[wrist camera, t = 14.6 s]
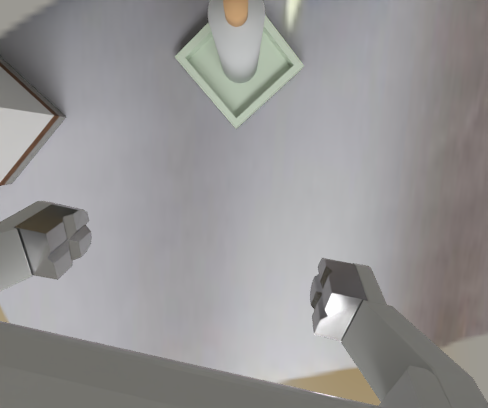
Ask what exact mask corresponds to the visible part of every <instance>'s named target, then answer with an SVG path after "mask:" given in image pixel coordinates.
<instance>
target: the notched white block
mask: <svg viewBox="0 0 488 408" xmlns="http://www.w3.org/2000/svg"><path fill="white" fill-rule="evenodd" d="M65 118H66V117H65V116H64V115H63V114H62V113H61V112H60V111H59V110H58V109H56V108H55V107H54V106H53V105H52V104H51V103H50V102H49V101H48V100H47V99H46V98H44V97H43V96H42V95H41V94H40V93H39V92H38V91H37V90H36V89H35V88H34V87H32V86H31V85H30V84H29V83H28V82H27V81H26V80H25V79H24V78H23V77H22V76H21V75H19V74H18V73H17V72H16V71H15V70H14V69H13V68H12V67H11V66H10V65H9V64H7V63H6V62H5V61H4V60H3V59H2V58H1V57H0V186H1V185H7V184H12V183H13V182H14V180H15V179H16V178H17V177H18V176H19V174H20V173H21V172H22V171H23V169H24V168H25V167H26V166H27V165H28V163H29V162H30V161H31V160H32V158H33V157H34V156H35V155H36V154H37V152H38V151H39V150H40V149H41V147H42V146H43V145H44V144H45V143H46V141H47V140H48V139H49V138H50V136H51V135H52V134H53V133H54V131H55V130H56V129H57V128H58V127H59V125H60V124H61V123H62V122H63V120H64V119H65Z"/></svg>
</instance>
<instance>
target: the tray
mask: <svg viewBox="0 0 488 408" xmlns="http://www.w3.org/2000/svg"><path fill="white" fill-rule="evenodd" d="M175 58H176V59H177V60H178V62H179V63H180V64H181V65H182V66H183V68H184V69H185V70H186V71H187V72H188V73H189V75H190V76H191V77H192V78H193V79H194V80H195V82H196V83H197V84H198V85H199V86H200V88H201V89H202V90H203V91H204V92H205V93H206V95H207V96H208V97H209V98H210V99H211V100H212V102H213V103H214V104H215V105H216V106H217V107H218V109H219V110H220V111H221V112H222V113H223V115H224V116H225V117H226V118H227V119H228V120H229V122H230V123H231V124H232V125H233V126H234V127H235V129H237V128H238V127H239V126H241V125H242V124H243V123H244V122H245V121H246V120H247V119H248V118H249V117H250V116H251V115H253V114H254V113H255V112H256V111H257V110H258V109H259V108H260V107H261V106H262V105H264V104H265V103H266V102H267V101H268V100H269V99H270V98H271V97H272V96H273V95H274V94H276V93H277V92H278V91H279V90H280V89H281V88H282V87H283V86H284V85H285V84H286V83H288V82H289V81H290V80H291V79H292V78H293V77H294V76H295V75H296V74H297V73H299V72H300V71H301V70H302V68H303V67H304V65H303V64H302V62H301V61H300V60H299V58H298V57H297V56H296V54H295V53H294V52H293V50H292V49H291V48H290V47H289V45H288V44H287V43H286V41H285V40H284V39H283V37H282V36H281V35H280V33H279V32H278V31H277V30H276V28H275V27H274V26H273V24H272V23H271V22H270V20H269V19H268V18H267V16H266V15H265V21H264V27H263V33H262V40H261V46H260V53H259V59H258V66H257V71H256V73H255V75H254V76H253V77H252V79H250V80H249V81H247V82H245V83H235V82H232V81H231V80H229V79H228V78H227V77H226V75H225V73H224V71H223V68H222V65H221V61H220V58H219V55H218V51H217V48H216V45H215V41H214V38H213V35H212V31H211V28H210V25H209V22H208V23H207V24H206V25H205V26H204V27H203V28H202V29H201V30H200V31H199V32H198V34H197V35H196V36H195V37H194V38H193V39H192V40H191V41H190V42H189V43H188V44H187V45H186V46H185V47H184V48H183V49H182V50H181V51H180V52H179V53H178V54H177V55H176V56H175Z"/></svg>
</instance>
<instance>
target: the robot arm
mask: <svg viewBox="0 0 488 408" xmlns="http://www.w3.org/2000/svg"><path fill="white" fill-rule="evenodd" d="M88 222H89V218H88V213H87V212H86V211H85V210H83V209H79V208H74V207H70V206H65V205H61V204H55V203H51V202H46V201H37V202H35V203H33V204H32V205H30V206H28V207H26V208H24V209H23V210H21V211H19V212H17V213H16V214H14V215H12V216H10V217H8V218H7V219H5V220H3V221H1V222H0V291H2V290H4V289H7V288H9V287H11V286H13V285H15V284H17V283H19V282H21V281H23V280H25V279H28V278H30V277H32V275H35V276H41V277H46V278H52V279H57V280H58V279H59V278H60V277H61V276H62V275H63V274H64V273H65V272H66V271H67V270H68V269H70V268H71V267H72V263H73V260H75V259H78V258H80V257H82V256H83V255H84V254H85V253H86V252H87V250H88V248H89V246H90V244H91V239H92V236H91V231H90V230H89V228H88V227H87V226H86V224H87V223H88ZM318 271H319V274H318V275H317V276H315V277H314V279H313V282H312V286H311V291H310V302H311V306H312V307H313V308H314V313H313V315H312V321H313V329H314V335H318V336H322V337H326V338H330V339H334V340H338V341H342V342H341V343H342V345H343V346H344V348H345V349H346V351H347V352H348V353H349V355H350V356H351V358H352V359H353V361H354V362H355V364H356V365H357V367H358V368H359V370H360V371H361V373H362V374H363V376H364V377H365V379H366V380H367V382H368V383H369V385H370V386H371V388H372V389H373V391H374V392H375V394H376V395H377V397H378V398H379V400H380V401H381V403H380V405H379V406H376V405H371V404H367V403H362V402H358V401H353V400H349V399H345V398H340V397H336V396H331V395H327V394H322V393H318V392H314V391H309V390H305V389H300V388H296V387H291V386H287V385H283V384H278V383H274V382H269V381H265V380H260V379H256V378H251V377H247V376H242V375H238V374H233V373H229V372H224V371H220V370H215V369H211V368H206V367H202V366H197V365H193V364H189V363H184V362H180V361H175V360H171V359H166V358H162V357H157V356H153V355H148V354H144V353H140V352H135V351H131V350H126V349H122V348H117V347H113V346H109V345H104V344H100V343H95V342H91V341H86V340H82V339H78V338H73V337H69V336H64V335H60V334H55V333H51V332H46V331H42V330H38V329H33V328H29V327H24V326H20V325H15V324H11V323H6V322H2V321H0V408H488V403H487V401H486V399H485V398H484V396H483V394H482V393H481V391H480V389H479V388H478V386H477V384H476V383H475V381H474V379H473V378H472V377H471V376H470V375H469V374H468V373H467V372H465V371H464V370H463V369H462V368H461V367H460V366H459V365H458V364H456V363H455V362H454V361H453V360H452V359H451V358H450V357H448V355H446V354H445V353H444V352H443V351H442V350H441V349H440V348H439V347H437V346H436V345H435V344H434V343H433V342H432V341H431V340H430V339H428V338H427V337H426V336H425V335H424V334H423V333H422V332H421V331H419V330H418V329H417V328H416V327H415V326H414V325H413V324H412V323H410V322H409V321H408V320H407V319H406V318H405V317H404V316H403V315H401V314H400V313H399V312H398V311H397V310H396V309H395V308H394V307H392V306H389V305H387V304H386V302H385V299H384V297H383V295H382V292H381V290H380V288H379V285H378V283H377V281H376V278H375V276H374V274H373V271H372V269H371V268H370V267H369V266H366V265H360V264H354V263H353V264H351V263H346V262H341V261H336V260H331V259H326V258H322V259H321V261H320V263H319V265H318Z"/></svg>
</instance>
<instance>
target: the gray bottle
mask: <svg viewBox="0 0 488 408" xmlns="http://www.w3.org/2000/svg"><path fill="white" fill-rule="evenodd" d="M208 21H209V25H210V28H211V31H212V35H213V38H214V41H215V45H216V48H217V51H218V55H219V58H220V61H221V65H222V68H223V71H224V73H225V75H226V77H227V78H228V79H229V80H231V81H232V82H235V83H245V82H247V81H249V80H250V79H252V77H253V76H254V75H255V73H256V71H257V66H258V59H259V53H260V46H261V40H262V33H263V27H264V21H265V6H264V2H263V0H210V2H209V5H208Z"/></svg>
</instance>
